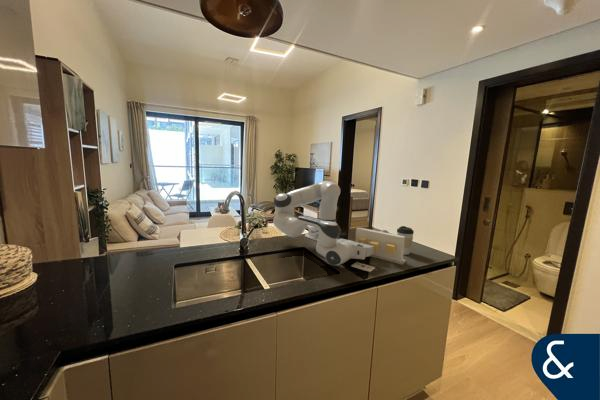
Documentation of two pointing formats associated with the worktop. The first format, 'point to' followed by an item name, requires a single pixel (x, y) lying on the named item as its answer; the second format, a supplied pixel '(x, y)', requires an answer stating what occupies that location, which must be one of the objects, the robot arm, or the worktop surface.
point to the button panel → (384, 244)
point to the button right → (390, 248)
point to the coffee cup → (406, 238)
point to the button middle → (375, 245)
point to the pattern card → (363, 266)
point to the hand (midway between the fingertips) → (360, 242)
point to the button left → (362, 240)
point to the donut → (384, 232)
